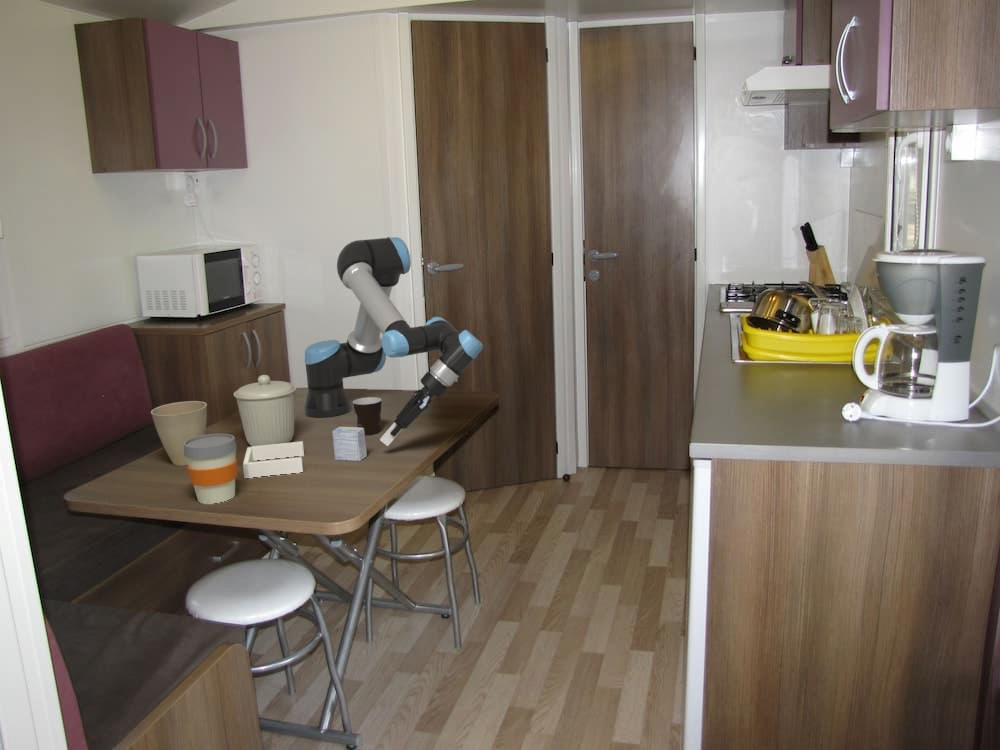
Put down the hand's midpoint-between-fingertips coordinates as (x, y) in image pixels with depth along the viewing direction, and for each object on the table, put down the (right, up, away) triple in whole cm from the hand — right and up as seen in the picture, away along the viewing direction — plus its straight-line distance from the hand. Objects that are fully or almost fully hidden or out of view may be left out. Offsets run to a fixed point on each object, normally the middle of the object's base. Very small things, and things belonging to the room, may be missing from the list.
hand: (383, 442), depth 254 cm
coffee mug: (-7, +1, +26) cm, 27 cm away
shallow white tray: (-29, -6, -4) cm, 30 cm away
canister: (-36, -2, +18) cm, 40 cm away
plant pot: (-57, -6, +4) cm, 57 cm away
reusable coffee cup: (-39, -12, -26) cm, 48 cm away
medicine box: (-9, -5, 0) cm, 10 cm away
